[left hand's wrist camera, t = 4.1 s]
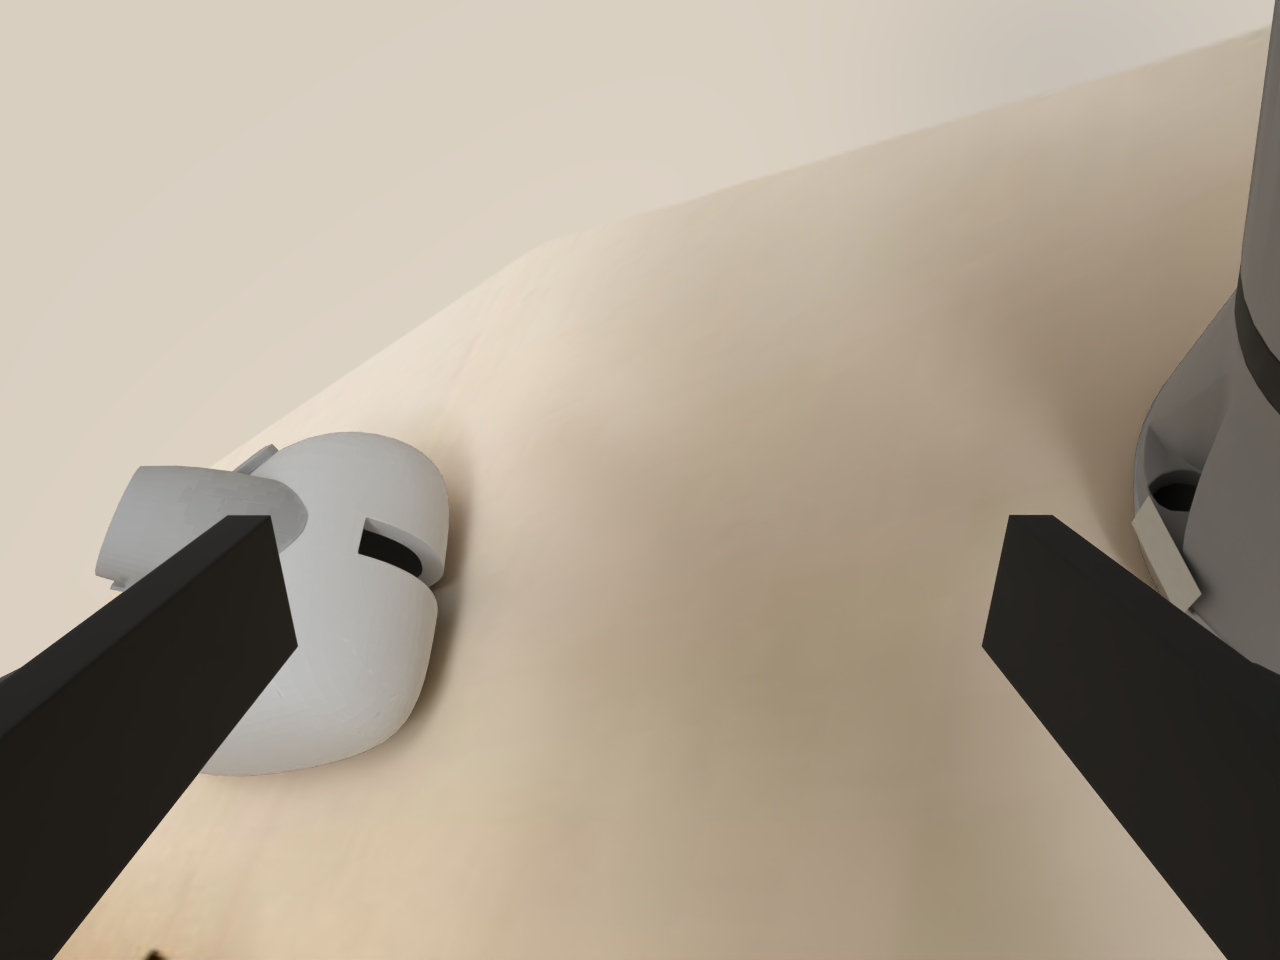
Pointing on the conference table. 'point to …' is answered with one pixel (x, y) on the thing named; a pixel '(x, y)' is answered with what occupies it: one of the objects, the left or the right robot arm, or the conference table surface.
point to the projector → (313, 584)
